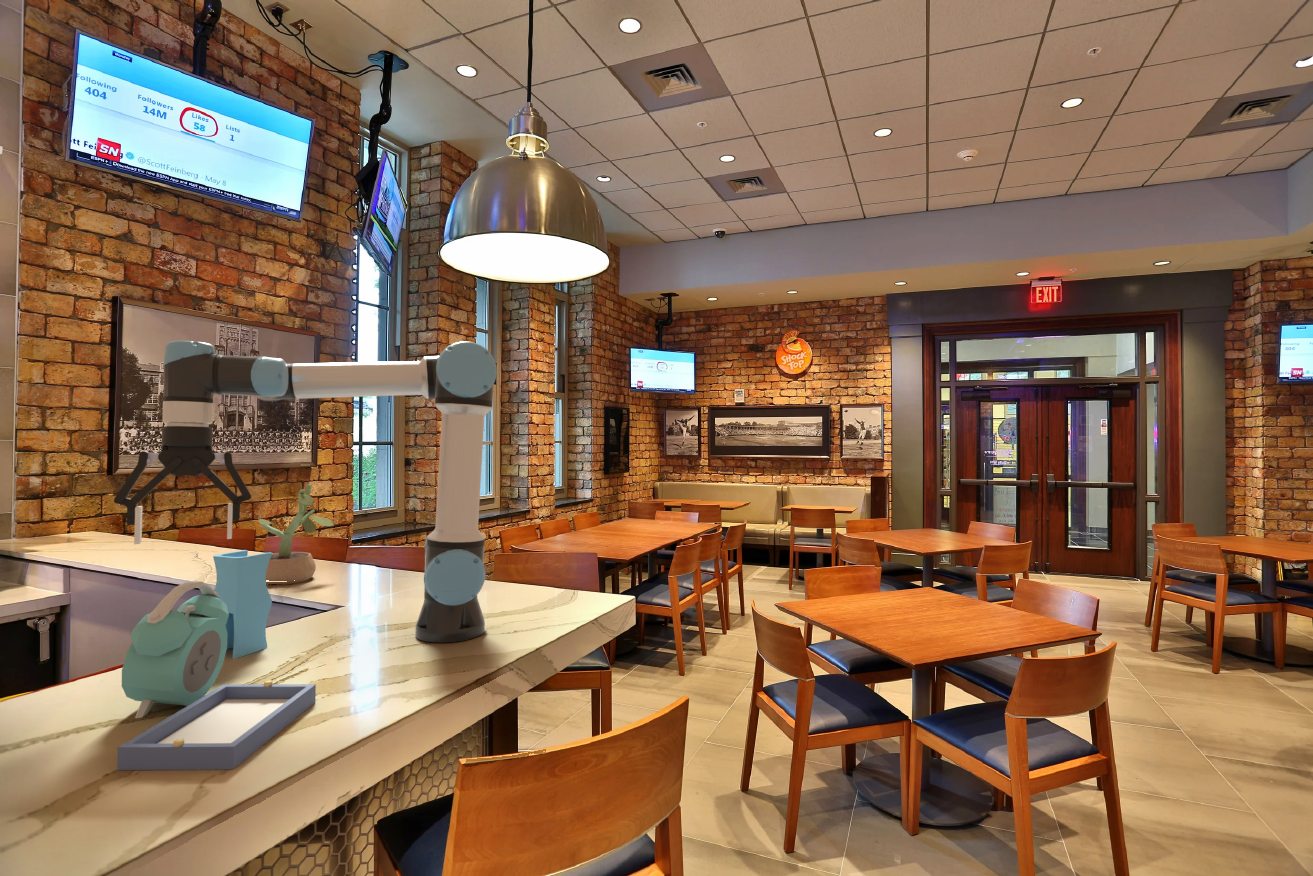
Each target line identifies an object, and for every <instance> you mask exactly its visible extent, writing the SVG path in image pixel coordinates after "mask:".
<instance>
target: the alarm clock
mask: <svg viewBox="0 0 1313 876" xmlns="http://www.w3.org/2000/svg"><path fill="white" fill-rule="evenodd" d="M196 588H198V589H199V590H200V592H201V594H198V595H195V596H193V597H190V598H189V599H188V600H186V601H184V602H183V603H182V604H180V605H179V607H178V609H177V610H175V609H174V610H173V607H174V606H175V605H176V603H177V601H178V600H179V599H180V598H181V597H182V596H183V595H184V594H185V593H186V592H188V591H192V590H194V589H196ZM214 590H215V589H213V588H212V586H210V585H209V584H208V583H206V582H204V581H200V580H191V581H185V582H182V583H181V584H179V585H177V586H174V588H172V589H171V590H170V592H169V593H167V594H166V596H165V597H163V598H161V599H162V600H160V602H159V603H158V605H157V606H156V607H155V608H154V609H153V610H152V611H151V612H150V613H147V614H144V616H143V617H141V619H140V621H139V622H138V623H136V625H135V626H134V628H133V629H132V630H131V633H130V638H131V641H132V642H131V644H130V646H129V648H128V650H127V651H126V655H125V658H124V662H123V665H122V668H121V687H122V689H123V691H124V695H125V696H126V698H128V699H131V700H133V701H136V702H140V704H139V707H138V709H137V711H136V713H135V717H134V718H135V719H141V718H143V717H145V716H147V715H148V713H149V712H150V711H151V708H152V707H153V705H154V703H155V704H167V705H176V706H185V707H187V706H188V705H190V704H192V703H193V702H195V701H197V700H199V699H200V698H202V697H204V696H205V695H207V694H208V692H209V690H210V689H211V687H212V686H213V685H214V683H215V681H217V678H218V676H219V675H220V671H221V669H222V667H223V665H224V661H225V658H226V653H227V650H228V649H227V636H228V633H227V630H226V627H225V625H226V623H227V620H228V617H229V613H228V609H227V605H226V604H225V603H224V602H223V601H222V600H220V599H219V595H218V594H217V593H218V592H216V591H214Z"/></svg>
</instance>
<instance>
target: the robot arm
mask: <svg viewBox="0 0 1313 876" xmlns="http://www.w3.org/2000/svg"><path fill="white" fill-rule="evenodd" d="M163 359H164V360H163V363H162V368H163V396H162V397H163V398H162V399H163V401H162V423H164V424H166V426H163V428H162V429H161V430H162V431H161V450H160V451H159V453H157V452H149V451H146V450H145V451H144V450H143V451H141V452H139V455H138V461H137V464H136V465H135V467H134V468H133V470H132V472H131V473H130V475H129V476H128V478H127V479H126V481H125V482H124V484H123V485H122V487H121V488H120V490H119V491H118V493H117V494H116V496H115V497H114V498H113V502H114V504H117V505H118V504H119V505H122V506H124V507H125V508H126V524H127V526H134V533H133V534H134V536H133V538H134V540H133V541H134V543H133V545H140V544H142V541H143V540H142V537H143V536H142V535H143V505H139V506H138V504H139V503H140V502H141V501H142V500H144V498H146V496H148V494H149V493H151V492H152V491H153V490H154V489H155V488H156V487H157V486H158V485H159V484H160V483H161V482H163V481H164V480H165V478H167V477H168V476H169V475H170V474H171V475H172V476H175V477H184V476H190V477H197V476H200V475H204V476H205V477H206V478H207V479H208V480H209V481H210V482H211V483H212V484H213V485H214V486H215V487H217V488H218V490H219V491H220V492H222V493H223V494H224V495H225V496H226V497H227V498H228V499H229V501H231V503H230V502H229V503H227V524H226V525H227V526H226V527H227V528H226V540H232V539H233V521H240V517H241V515H240V514H241V504H242V503H243V502H247V501H250V500H251V498H252V495H251V493H250V491H249V489H248V488H247V485H246V484H245V482H244V480H243V479H242V478H241V476H240V474H239V472H238V470H237V469H236V466H235V465H234V463H233V455H232V453H231V452H230V451H226V452H220V453H219V452H218V453H215V452H214V451H213V430H214V429H212V427H210V425H212V424H213V423H214V396H215V395H219V396H224V395H227V396H242V397H243V396H244V397H246V396H247V397H252V398H257V399H259V400H261V401H264V402H277V401H281V400H298V399H299V400H300V399H326V398H327V399H329V398H330V399H331V398H357V397H359V398H360V397H384V396H385V397H386V396H387V397H388V396H389V397H391V396H392V397H393V396H394V397H395V396H419V395H422V396H423V397H424V398H425V399H427V400H434V406H435V407H436V409H437V410H438V411H440V414H441V424H440V441H439V459H438V475H437V477H438V478H437V496H436V509H435V510H436V511H435V527H434V529H433V531H431V532H430V533H429V534H428V535H426V536H425V543H424V545H423V548H424V574H423V584H424V592H423V593H424V597H423V604H422V606H421V610H420V612H419V616H418V618H417V621H416V624H415V631H414V632H415V634H414V636H415V638H417V640H420V641H423V642H426V643H427V642H429V643H440V644H441V643H455V642H456V643H457V642H463V641H467V640H471V639H475V638H477V637H480V636H482V635H483V634H484V633H485V631H486V627H485V626H486V625H485V624H486V621H485V617H484V615H483V611H482V609H481V605H480V602H479V599H478V595H479V593H480V592H481V590H482V588H483V586H484V583H485V582H486V575H487V574H486V569H485V568H486V567H485V565H484V561H485V542H486V536H485V535H484V534H483V533H482V532H481V531H480V530H479V517H480V516H479V515H480V502H481V501H480V500H481V481H482V465H483V464H482V462H483V447H484V446H483V444H484V426H485V416H486V415H487V414H488V413H489V412H491V411H492V410H493V400H494V398H493V397H494V385H495V382H496V379H497V376H498V375H497V374H498V368H497V364H496V362H495V359H494V357H493V355H492V354H491V352H490V351H489V350H488V349H487V348H486V347H484V346H483V345H481V344H479V343H476V342H473V341H459V342H454V343H452V344H450V345H447V347H445V348H444V349H443V350H442V351H441V352H440V353H439V355H434V356H432V355H431V356H429V355H428V356H427V355H426V356H423V357H422V358H421V359H420V360H417V361H415V360H413V361H409V360H407V361H365V362H364V361H362V362H361V361H360V362H357V361H355V362H316V363H315V362H313V363H312V362H311V363H310V362H309V363H308V362H307V363H305V362H303V363H301V362H299V363H298V362H297V363H287V362H286V361H285V360H284V359H283V358H280V357H279V358H277V357H268V356H264V355H263V356H248V355H247V356H246V355H225V354H219V353H217V352H216V351H215V346H214V345H212V344H211V343H208V342H202V341H192V340H172V341H169V342H168V343H167V344H166V345H165V348H164V358H163ZM155 460H158V461H159V462H160V463H161V464H162V465H163V466H164V468H162V470H161V471H160V472H158V473H157V474H156V475H155V476H154V477H153V478H152V479H151V480H150V481H148V483H146V484H145V485H144V487H142V488H140V490H139V491H138V492H137V493H136V494H134V495H133V496H132V497H131V498H130V497H128V496H129V495H130V493H131V491H132V490H133V488H134V487H135V486H136V483H137V482H138V480H139V479H140V478H141V476H142V474H143V473H144V471H145V470H146V468H147V466H148V465H151V464H153V463H154V461H155ZM215 460H218V461H219V463H220V464H222V465H225V468H226V470H227V472H228V473H229V475H230V476H231V478H232V480H233V482H234V483H235V485H236V486H237V489H238V490H239V492H240V493H241V495H237V494H236V493H235V492H234V491H233V490H232V489H231V488H230V487H229V486H228V485H227V484H226V483H225V482H224V481H223V480H222V479H221V478H220V477H219V476H218V475H217V474H216V473H215V472H214V471H213V470H212V469H211V468H210V467H209V466H210V465H211V464H212V463H213V462H214V461H215Z"/></svg>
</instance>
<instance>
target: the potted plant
mask: <svg viewBox="0 0 1313 876" xmlns="http://www.w3.org/2000/svg"><path fill="white" fill-rule="evenodd" d="M312 486H313V484H307V485H306V489H304V488H303V489H300V490H299V491H298V493H297V499H298V512H297V513H296V515H295V516H294V517H293V518H292V519H291V522H290V524H288V526H287V527H286V529H285V530H284V532H283V531H281V530H280V529H278V528H275V527H273V526H271V525H275V524H277V523H276V522H277V521H276V522H271V521H269V520H266V519H263V518H261V514H259V515H258V517H257V519H258V523H259V524H260V526H261V527H262V528H263V529H265V530H266V532H269V533H270V534H272V535H276V536H278V537H280V538H281V540H280V542H279V547H278V552H274V553H273V552H272V555H271V558H270V560H269V563H268V566H267V570H266V580H269V581H287V582H266V584H282V585H291V584H292V585H293V584H299V583H303V582H306V581H308V580H309V579H311V578H312V577H313V576H314V574H315V572H316V566H317V565H316V563H315V560H314V558H313V555H312V554H311V552H306V551H305V552H304V551H292V541H293V539H294V535H295V532H296V530H297V529H298V528H299V527H300V526H301V525H302V527H303V529H304V533H305V534H307V533H314V532H315V531H316V529H318V528H317V524H319V525H321V526H324V527H334V526H336V524H335V523H334V522H333V521H332V520H331V519H329V518H326V517H321V516H317V515H314V513H315V511H316V510H315V509H314V508H313V509H311V510H310V511H309V512H307V509H308V506H310V507H313V505H314V503H315V500H314V498H313V496H311V492H312V488H313V487H312ZM306 512H307V513H306ZM310 517H311V518H310ZM315 523H316V524H315ZM294 580H295V581H294Z"/></svg>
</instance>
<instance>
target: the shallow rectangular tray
mask: <svg viewBox="0 0 1313 876" xmlns="http://www.w3.org/2000/svg"><path fill="white" fill-rule="evenodd" d="M316 685H317V684H316V683H315V684H314V683H313V684H311V683H308V684H307V683H306V684H300V683H298V684H297V683H296V684H295V683H294V684H293V683H292V684H286V683H285V684H283V683H282V684H273V680H266V681H264V682H263V683H262V684H259V683H257V684H243V683H242V684H241V683H240V684H239V683H237V684H235V683H234V684H233V683H231V684H222V685H221V686H219V687H217V688H215V689H214V690H212V691H211V692H209V693H206V694H205V695H204V696H203V697H202V698H200V699H199V700H197V701H195V702H193V703H192V704H190V705H187V706H185V707H184V708H181V709H180V710H177V712H175V713H174V714H171V715H170V716H168V717H166V718H165V719H163V720H161V721H159V722H158V723H156V724H155V725H152V726H151V727H149V728H148V729H146V730H145V731H143V732H141V733H139V734H137V735H136V736H135V737H133V738H131V739H129V740H128V741H126V742H124V743H122V744H120V745H119V746H118V747H117V751H116V752H117V757H116V759H117V760H116V763H117V764H116V770H117V771H170V770H172V771H177V770H179V771H181V770H182V771H183V770H189V771H191V770H195V771H197V770H202V771H203V770H204V771H205V770H235V769H236V768H237V767H239V766H240V765H241V764H242V763H243V762H245V761H246V760H247V759H248V758H249V757H251V756H252V755H253V754H255V752H257V751H258V750H259V749H260V748H262V747H263V746H264V745H265V744H266V743H267V742H269V741H270V740H271V739H273V738H274V737H275V736H276V735H278V734H279V733H280V732H281V731H282V730H284V729H285V728H286V727H287V726H288V725H290V724H291V723H293V721H295V720H296V719H297V718H298V717H299V716H301V714H303V713H304V712H306V710H308V709H309V708H310V707H312V706H313V705H314V704H315V703H316V695H317V693H316V689H317V687H316Z"/></svg>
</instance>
